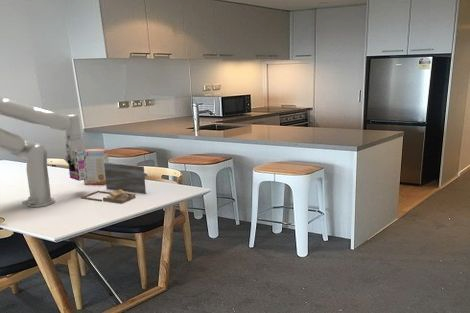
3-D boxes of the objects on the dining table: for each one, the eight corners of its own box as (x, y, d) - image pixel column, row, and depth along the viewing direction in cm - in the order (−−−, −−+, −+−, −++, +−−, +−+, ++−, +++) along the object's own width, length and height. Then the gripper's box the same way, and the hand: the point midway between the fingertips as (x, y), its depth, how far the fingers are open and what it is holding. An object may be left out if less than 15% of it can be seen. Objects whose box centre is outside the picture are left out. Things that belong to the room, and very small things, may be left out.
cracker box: (110, 182, 246) (107, 148, 241) (106, 185, 240) (103, 150, 236) (88, 182, 247) (85, 148, 243) (83, 185, 241) (80, 150, 237)
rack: (121, 206, 200) (118, 175, 197) (81, 200, 211) (77, 171, 208) (145, 195, 218) (143, 166, 214) (107, 190, 228) (105, 162, 225)
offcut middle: (117, 202, 203) (117, 198, 202) (107, 199, 208) (106, 195, 208) (129, 199, 208) (128, 195, 208) (118, 196, 214) (118, 192, 213)
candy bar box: (87, 179, 220) (84, 149, 216) (79, 181, 216) (75, 151, 212) (78, 175, 227) (74, 147, 224) (69, 177, 224) (65, 148, 220)
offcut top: (115, 198, 202) (114, 195, 202) (109, 195, 209) (109, 191, 208) (126, 196, 206) (126, 192, 206) (121, 193, 212) (120, 189, 212)
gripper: (66, 140, 208) (70, 174, 211) (90, 134, 223) (94, 166, 227) (55, 139, 211) (59, 172, 214) (80, 134, 226) (84, 165, 230)
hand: (77, 169), depth 221 cm, fingers closed on candy bar box, 6 cm apart
